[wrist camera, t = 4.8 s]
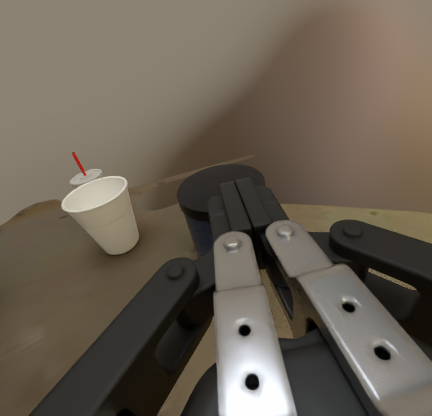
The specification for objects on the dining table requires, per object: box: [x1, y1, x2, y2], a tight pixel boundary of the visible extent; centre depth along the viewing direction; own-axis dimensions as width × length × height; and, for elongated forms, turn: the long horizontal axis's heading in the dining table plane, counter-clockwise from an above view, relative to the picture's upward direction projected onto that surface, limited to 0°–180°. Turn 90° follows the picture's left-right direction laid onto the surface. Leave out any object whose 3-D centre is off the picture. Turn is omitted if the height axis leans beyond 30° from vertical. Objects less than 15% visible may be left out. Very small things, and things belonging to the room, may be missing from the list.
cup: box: [61, 176, 139, 255], centre depth 41 cm, size 10×10×11 cm
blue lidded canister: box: [177, 164, 265, 269], centre depth 34 cm, size 11×11×12 cm
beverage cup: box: [70, 152, 103, 189], centre depth 50 cm, size 6×6×14 cm
